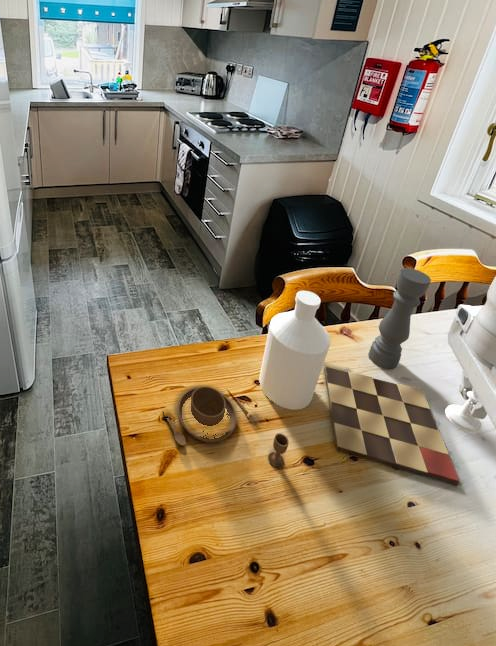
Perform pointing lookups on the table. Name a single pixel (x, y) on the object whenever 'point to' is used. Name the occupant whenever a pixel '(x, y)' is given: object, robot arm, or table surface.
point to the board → (387, 425)
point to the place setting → (219, 419)
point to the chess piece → (464, 415)
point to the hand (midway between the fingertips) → (470, 405)
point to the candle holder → (398, 318)
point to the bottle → (294, 354)
